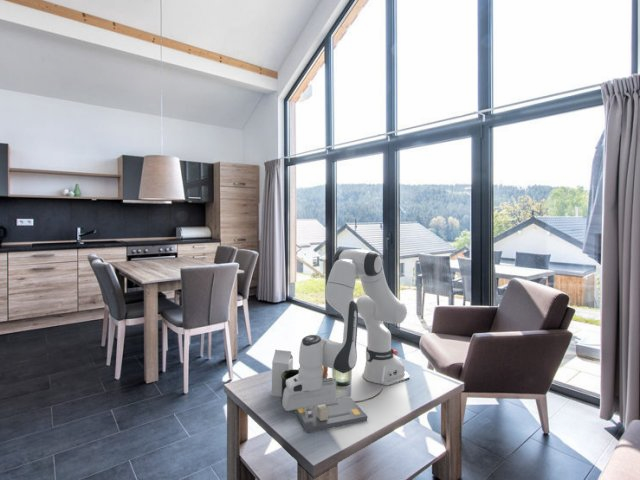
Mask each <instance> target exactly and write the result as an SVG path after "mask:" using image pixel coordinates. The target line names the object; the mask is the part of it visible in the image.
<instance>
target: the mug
mask: <svg viewBox="0 0 640 480" xmlns="http://www.w3.org/2000/svg"><path fill="white" fill-rule="evenodd" d="M297 374H299V370H298V369H294V368H293V369H292V370H289V371H284V372H283V373H282V374H281V378H282V397H281V400H280V401H281V403H282V401H283V393H284V389H285V388H286V387H287V386H286V380H287V379H289V378H291V377H293V376H295V375H297Z"/></svg>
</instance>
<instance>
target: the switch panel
mask: <svg viewBox="0 0 640 480" xmlns="http://www.w3.org/2000/svg"><path fill="white" fill-rule="evenodd" d="M325 406H326V407H327V408H328V420H323V421H320V420H319V418H318V417H317V415H316V414H317V409H316V411H315V413H314V417H310V418H306V417H305V411H304V409H303V408H301V409H296V410H294V412H295V414H296V416H297V418H299V420H300V422H301V424H302V425H303V427H304V429H305V430H306V432H307V434H311V433H315V432H319V431H320V432H321V431H324V430H329V429H335V428H341V427H345V426H348V425H349V426H350V425H354V424H361V423H364V422H368V415H367V414H366V413H365V411H364V410H362V408H361V407H360V406H359V405H358V404H357V403H356V402H355V401H354V400H353V398H351V397H350V395H349V396H348V395H347V396H342V397H337V399H336V401H335V402H334V403H329V404H325ZM306 411H311V410H306Z"/></svg>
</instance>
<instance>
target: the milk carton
mask: <svg viewBox="0 0 640 480" xmlns="http://www.w3.org/2000/svg"><path fill="white" fill-rule="evenodd" d="M271 364H272V366H271V375H272V376H271V396H272V397H281V398H282V378H281V374H282V373H283V372H284V371H289V370H292V369H294V367H293V365H294V357H293V354H292V351H290V350H282V349H274V354H273V358H272V362H271Z"/></svg>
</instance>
